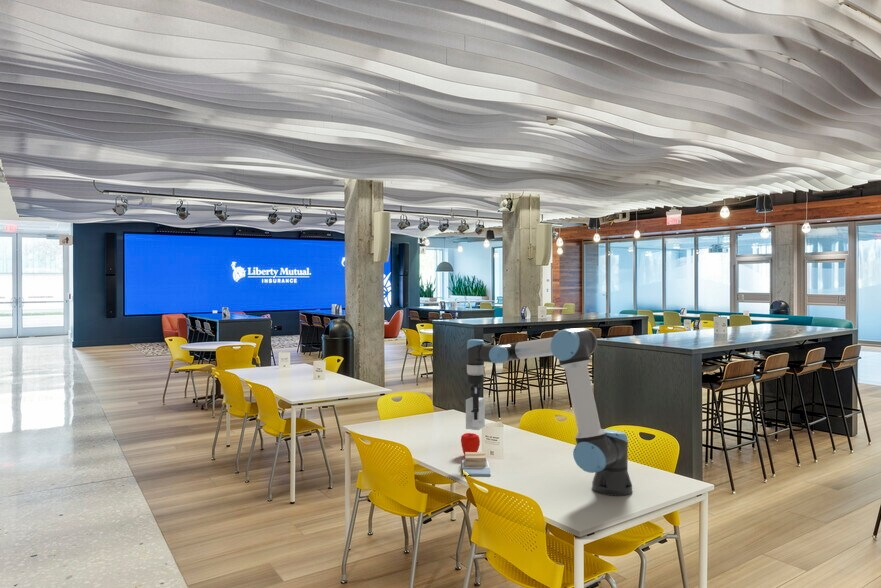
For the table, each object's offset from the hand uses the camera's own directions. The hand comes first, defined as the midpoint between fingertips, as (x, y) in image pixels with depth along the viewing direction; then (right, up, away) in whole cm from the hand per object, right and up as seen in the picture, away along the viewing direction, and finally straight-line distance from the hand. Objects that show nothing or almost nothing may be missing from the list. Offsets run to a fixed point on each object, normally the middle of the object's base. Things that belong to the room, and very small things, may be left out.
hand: (475, 424), depth 261 cm
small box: (0, -2, 0) cm, 2 cm away
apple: (-1, -19, +16) cm, 25 cm away
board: (0, -19, -4) cm, 19 cm away
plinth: (0, -18, 0) cm, 18 cm away
